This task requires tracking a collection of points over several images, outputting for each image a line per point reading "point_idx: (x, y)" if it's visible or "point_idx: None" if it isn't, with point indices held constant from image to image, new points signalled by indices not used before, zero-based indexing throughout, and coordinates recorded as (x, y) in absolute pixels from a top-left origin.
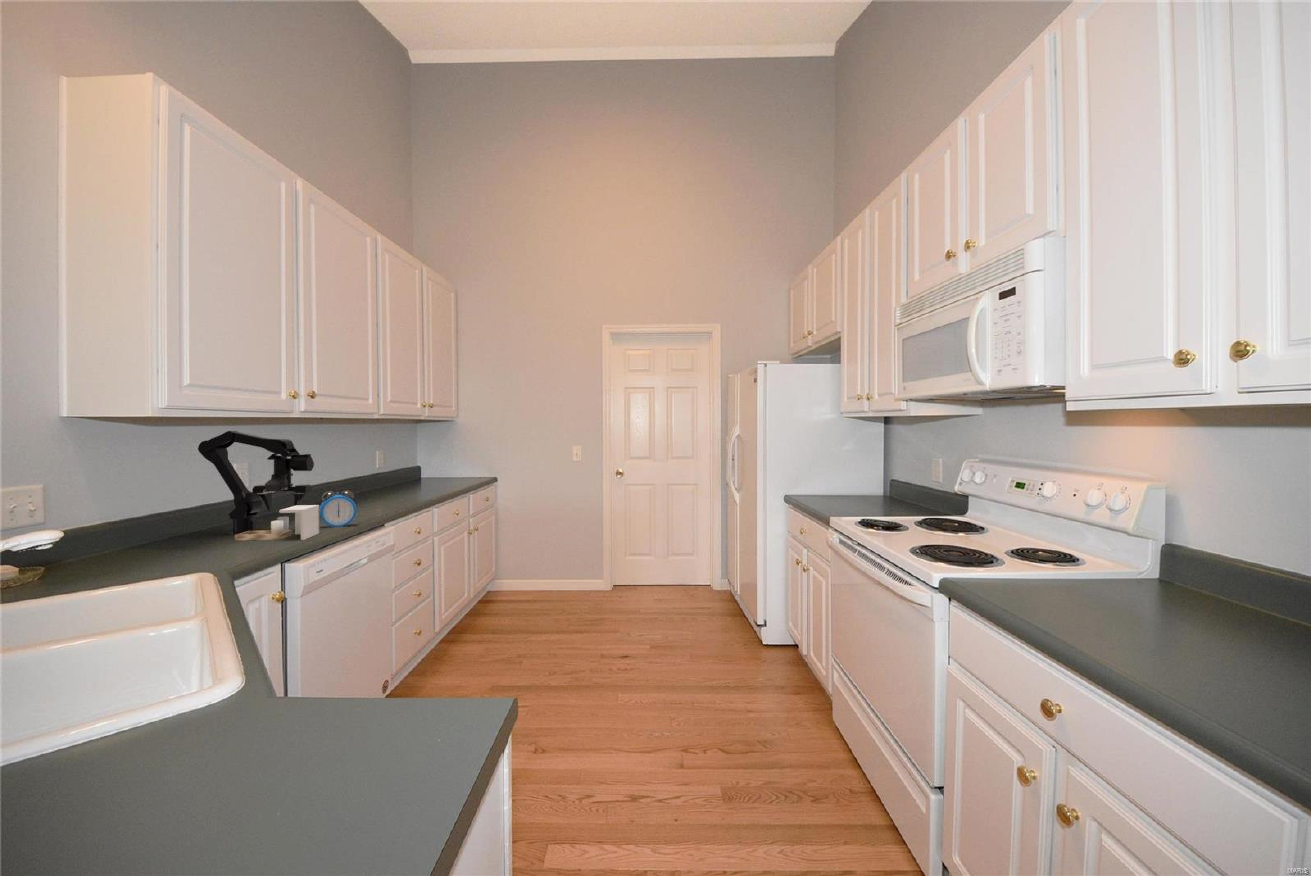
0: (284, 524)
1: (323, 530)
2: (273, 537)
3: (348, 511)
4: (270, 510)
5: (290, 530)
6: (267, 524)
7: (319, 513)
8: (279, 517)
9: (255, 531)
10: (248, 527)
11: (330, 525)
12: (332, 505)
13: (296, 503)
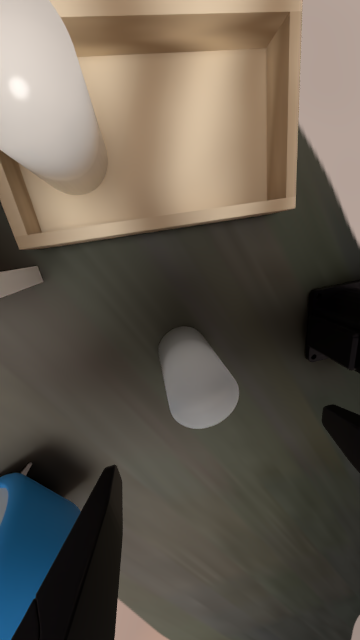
0: (169, 357)
1: (11, 419)
2: None
3: None
4: (323, 421)
5: (7, 215)
6: (333, 471)
7: None
8: (226, 394)
9: (251, 204)
10: (342, 315)
11: (7, 475)
12: None
13: (51, 576)
